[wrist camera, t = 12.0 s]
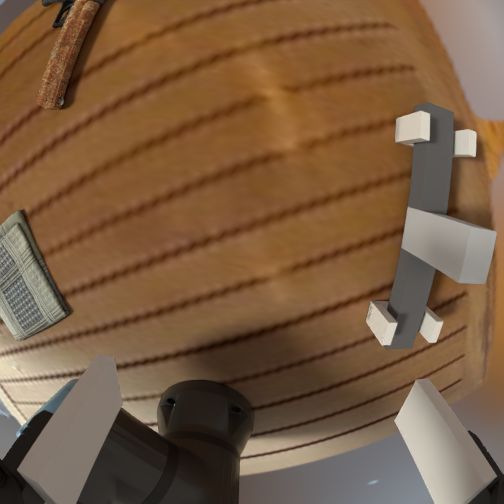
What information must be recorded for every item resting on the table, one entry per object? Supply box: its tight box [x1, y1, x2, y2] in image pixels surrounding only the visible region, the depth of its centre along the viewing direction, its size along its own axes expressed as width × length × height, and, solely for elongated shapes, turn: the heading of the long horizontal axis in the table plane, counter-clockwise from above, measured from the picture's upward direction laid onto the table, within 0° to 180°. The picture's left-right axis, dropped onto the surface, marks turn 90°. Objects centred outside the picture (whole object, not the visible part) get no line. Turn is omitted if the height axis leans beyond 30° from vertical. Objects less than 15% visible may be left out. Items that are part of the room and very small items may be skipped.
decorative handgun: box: [36, 0, 105, 110], centre depth 23 cm, size 3×28×15 cm
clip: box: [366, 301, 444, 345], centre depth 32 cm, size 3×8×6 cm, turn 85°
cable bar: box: [384, 102, 497, 349], centre depth 25 cm, size 30×4×12 cm, turn 175°
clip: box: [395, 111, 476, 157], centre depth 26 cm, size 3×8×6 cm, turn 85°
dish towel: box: [0, 210, 69, 341], centre depth 34 cm, size 19×18×3 cm
